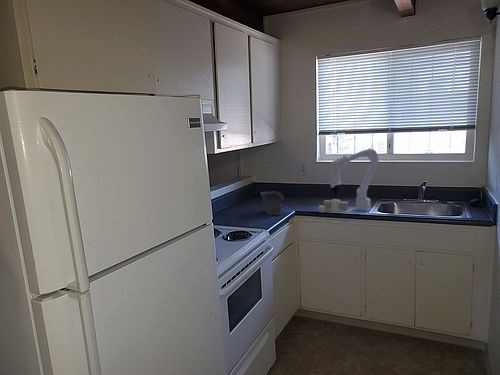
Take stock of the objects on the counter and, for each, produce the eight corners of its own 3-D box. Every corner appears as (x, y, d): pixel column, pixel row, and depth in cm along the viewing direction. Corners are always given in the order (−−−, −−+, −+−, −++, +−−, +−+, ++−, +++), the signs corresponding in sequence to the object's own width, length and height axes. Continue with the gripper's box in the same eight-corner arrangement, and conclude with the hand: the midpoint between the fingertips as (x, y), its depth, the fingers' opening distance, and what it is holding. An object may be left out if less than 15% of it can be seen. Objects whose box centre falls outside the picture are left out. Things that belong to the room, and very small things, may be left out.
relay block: (325, 211, 271) (325, 205, 270) (324, 212, 267) (323, 207, 266) (319, 210, 272) (319, 205, 272) (318, 212, 269) (318, 206, 268)
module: (340, 207, 273) (340, 199, 272) (337, 209, 269) (337, 200, 268) (333, 207, 276) (333, 199, 275) (331, 208, 272) (331, 200, 271)
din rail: (352, 210, 269) (352, 201, 268) (348, 212, 263) (348, 203, 262) (324, 207, 282) (323, 198, 281) (319, 209, 276) (319, 201, 275)
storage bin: (259, 210, 282) (259, 191, 279) (279, 208, 284) (279, 190, 282) (266, 217, 261) (265, 197, 258) (287, 215, 264) (287, 195, 261)
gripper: (334, 175, 277) (334, 193, 280) (326, 178, 266) (326, 197, 268) (343, 175, 273) (343, 193, 276) (335, 178, 262) (336, 197, 264)
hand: (335, 195), depth 272 cm, fingers closed
